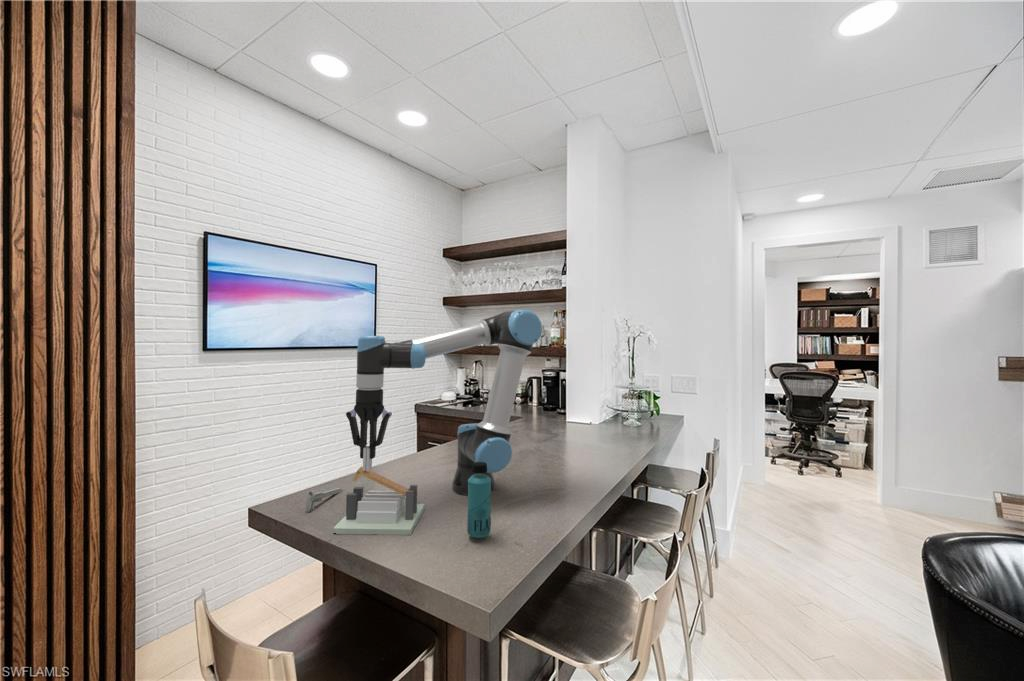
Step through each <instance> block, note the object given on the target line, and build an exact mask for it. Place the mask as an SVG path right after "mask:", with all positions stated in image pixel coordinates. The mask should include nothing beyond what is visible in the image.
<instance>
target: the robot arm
mask: <svg viewBox="0 0 1024 681" xmlns="http://www.w3.org/2000/svg"><path fill="white" fill-rule="evenodd" d="M542 333H543V325H542V321H541V320H540V318H539V317H538V315H537V314H536V313H535V312H533V311H532V310H529V309H520V308H518V309H515V310H510V311H504V312H501V313H499V314H495V315H493V316H490V317H487V318H484V319H480V320H479V321H478V323H474V324H470V325H466V326H462V327H459V328H454V329H450V330H445V331H441V332H437V333H432V334H428V335H424V336H420V337H416V338H412V339H411V338H410V339H409V340H408V339H407V340H404V341H400V342H399V341H398V342H397V341H396V342H386V338H385V337H384V336H382V335H360V336H359V337H358V340H357V349H356V380H355V381H356V386H355V387H356V388H357V389H356V391H355V405H354V406H353V409H352V410H350V411H347V412H346V413H345V416H346V417H347V419H348V422H349V426H350V432H351V438H352V443H353V445H354V446H358V447H359V458H360V459H362V467H363V471H369V470H370V471H371V470H372V468H373V459H375V458H376V447H380V445H382V444H383V442H384V438H385V434H386V432H387V431H386V430H387V427H388V422H389V420H390V418H391V417H392V415H393V414H392V413H393V412H391V411H387V410H386V409H385V405H384V389H383V387H384V382H385V381H384V379H385V378H384V376H385V375H384V374H385V373H384V370H385V369H413V370H414V369H422V368H423V367H424V366H425V363H426V361H427V359H430V358H435V357H437V356H442V355H445V354H450V353H453V352H454V353H455V352H457V351H462V350H465V349H466V350H467V349H469V348H474V347H478V346H480V345H485V346H487V347H489V346H491V345H497V347H498V348H499V350H500V352H499V355H498V358H497V362H496V367H495V371H494V375H493V380H492V382H491V383H492V384H491V388H490V391H489V395H488V400H487V403H486V408H485V410H484V414H483V415H484V416H483V419H482V421H480V422H479V423H478V422H476V423H475V422H474V423H465V424H460V425H459V426H458V427H457V434H456V435H457V464H456V465H457V466H456V467H457V468H456V470H455V474H454V476H453V479H452V483H451V490H452V491H453V492H454V493H456V494H459V495H463V496H468V479H469V478H470V477H471V476H472V475H474V474H486V475H487V476H488V477H489V478H490V479H491V491H492V490H493V489H494V490H495V488H496V486H495V484H496V483H495V479H494V473H498V472H500V471H503V470H504V469H505V468H506V467H507V466H508V465H509V464H510V462H511V459H512V456H513V450H512V446H511V444H510V440H511V436H512V435H511V434H512V432H511V429H510V428H509V425H510V420H511V416H512V412H513V407H514V404H515V400H516V396H517V391H518V388H519V385H520V384H519V383H520V380H521V376H522V371H523V368H524V363H525V359H526V357H527V356H529V355H531V353H532V350H533V346H534V344H535V343H537V342H538V341H539V340H540V338H541V336H542ZM357 416H358V418H359V423H360V430H359V424H358V420H357ZM380 416H381V418H382V419H381V423H380V427H379V429H378V434H377V426H378V424H377V423H378V419H379V418H380ZM368 425H369V426H368ZM368 427H369V445H368ZM475 462H485V463H486V464H487V472H485V473H474V472H472V465H473V463H475ZM494 487H495V488H494ZM494 490H493V491H494ZM493 491H492V492H493Z"/></svg>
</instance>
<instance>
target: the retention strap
mask: <svg viewBox="0 0 1024 681" xmlns="http://www.w3.org/2000/svg"><path fill="white" fill-rule="evenodd" d="M362 476H363V477H364V478H367V479H369V480H371V481H373V482H375V483H377V484H380V485H381V486H384V487H386V488H388V489H389V490H391V491H396V492H398V493H400V494H402V495H404V496H405V497H406V491H407V490H408V491H412V490H410V488H408V487H405V486H403V485H401V484H399V483H397V482H396V481H393V480H391V479H388V478H386V477H384V476H383V475H380V474H378V473H376V472H374V471H372V470H371V469H370V470H369V471H363V466H360V467H359V468H358V469H357V470H356V473H355V475H354V477H353V479H352V481H353V482H357V481H359V480H360V479H361V477H362ZM414 495H415V491H414Z"/></svg>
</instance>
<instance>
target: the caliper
mask: <svg viewBox="0 0 1024 681" xmlns="http://www.w3.org/2000/svg"><path fill="white" fill-rule="evenodd" d="M343 489H344V488H343V487H337V488H333V489H330V490H326V491H319V492H315V491H314V490H311V491H308V495H307V497H306V503H305V504H306V505H305V513H311V512H312V511H314V510H315V506H316V502H317V503H318V502H321V501H322V500H323V499H324V498H326V497H330V496H333V495H337V494H340V493H341V492H343V491H344V490H343ZM340 491H341V492H340ZM339 492H340V493H339ZM310 510H312V511H310Z"/></svg>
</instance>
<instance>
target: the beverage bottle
mask: <svg viewBox="0 0 1024 681" xmlns="http://www.w3.org/2000/svg"><path fill="white" fill-rule="evenodd" d="M472 472H474V473H485V472H487V464H486V463H485V462H475V463H473V465H472ZM491 504H492V492H491V479H490V478H489V477H488V476H487V475H486V474H474V475H472V476H471V477H470V478H469V479H468V495H467V515H466V516H467V522H466V523H467V525H466V526H467V529H466V531H467V534H468V536H469V537H473V538H479V539H480V538H485V537H487V536H489V535H490V534H491V526H492V523H491V522H492V515H491V514H492V507H491V506H492V505H491Z"/></svg>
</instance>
